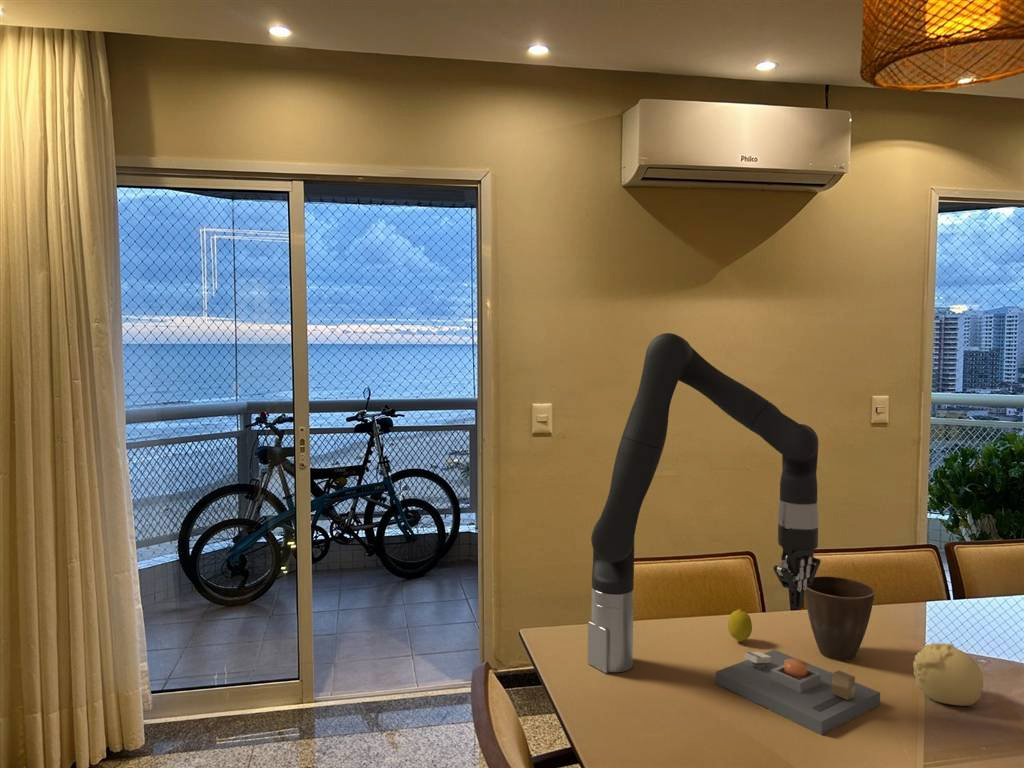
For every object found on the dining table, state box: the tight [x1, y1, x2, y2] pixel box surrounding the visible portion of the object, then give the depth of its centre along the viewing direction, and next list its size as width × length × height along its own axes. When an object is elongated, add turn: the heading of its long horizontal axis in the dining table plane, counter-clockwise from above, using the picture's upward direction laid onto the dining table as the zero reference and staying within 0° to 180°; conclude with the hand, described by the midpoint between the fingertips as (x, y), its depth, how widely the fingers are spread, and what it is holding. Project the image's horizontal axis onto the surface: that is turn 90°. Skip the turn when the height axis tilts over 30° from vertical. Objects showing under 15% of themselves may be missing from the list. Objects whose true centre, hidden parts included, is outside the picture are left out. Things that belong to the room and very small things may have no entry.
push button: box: [784, 658, 808, 678], centre depth 141 cm, size 4×4×2 cm
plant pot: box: [804, 576, 876, 662], centre depth 159 cm, size 15×15×16 cm
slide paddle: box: [831, 669, 856, 700], centre depth 134 cm, size 2×3×4 cm
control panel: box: [715, 649, 881, 736], centre depth 141 cm, size 20×24×4 cm
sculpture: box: [912, 642, 984, 707], centre depth 139 cm, size 12×12×11 cm
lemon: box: [727, 608, 753, 643], centre depth 166 cm, size 6×6×8 cm
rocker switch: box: [744, 651, 771, 663], centre depth 148 cm, size 5×3×1 cm, turn 124°
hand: (796, 607), depth 140 cm, fingers closed
